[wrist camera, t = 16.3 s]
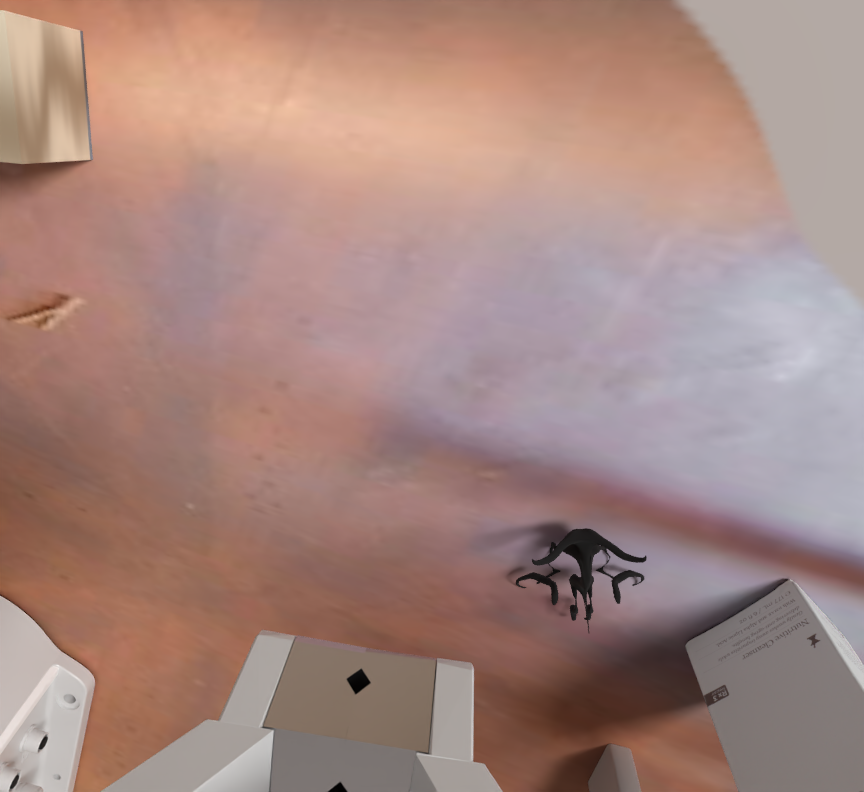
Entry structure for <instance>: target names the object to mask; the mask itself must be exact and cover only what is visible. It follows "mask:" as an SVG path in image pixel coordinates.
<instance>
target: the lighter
mask: <svg viewBox="0 0 864 792" xmlns="http://www.w3.org/2000/svg"><path fill="white" fill-rule="evenodd" d="M588 786H589V792H641V789H640V785H639V781H638V777H637V773H636V768H635V764H634V760H633V756H632V752H631V750H630V749H629V748H625V747H622V746H618V745H615V744H608V745H607V747H606V749H605V751H604V752H603V754H602V756H601V758H600V760H599V762H598V764H597V766H596V768H595V769H594V771H593V773H592V775H591V777H590V779H589V781H588Z"/></svg>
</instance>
